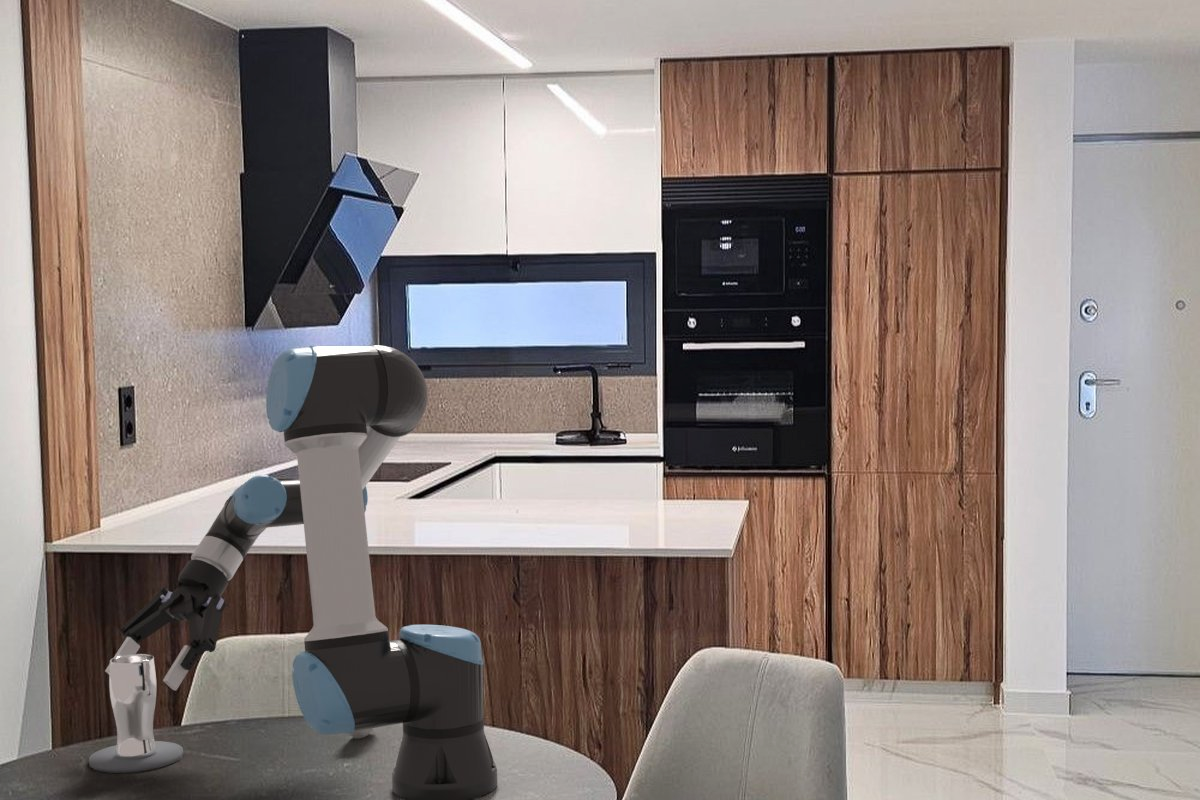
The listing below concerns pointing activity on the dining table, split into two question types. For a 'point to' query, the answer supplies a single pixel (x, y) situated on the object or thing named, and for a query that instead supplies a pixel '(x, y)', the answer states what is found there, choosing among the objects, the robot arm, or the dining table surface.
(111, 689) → the beer glass
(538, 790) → the dining table surface
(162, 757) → the mat
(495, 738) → the dining table surface
